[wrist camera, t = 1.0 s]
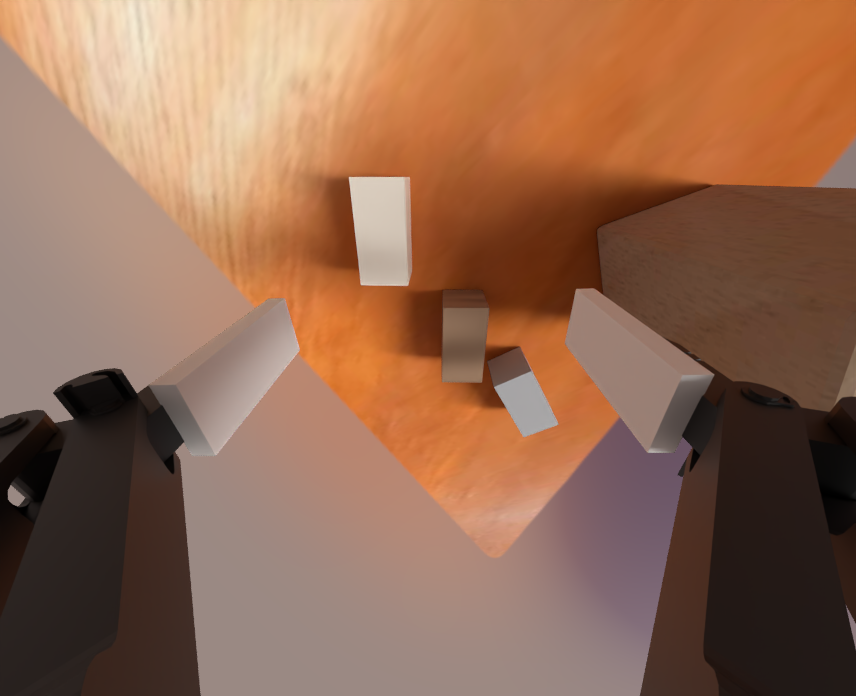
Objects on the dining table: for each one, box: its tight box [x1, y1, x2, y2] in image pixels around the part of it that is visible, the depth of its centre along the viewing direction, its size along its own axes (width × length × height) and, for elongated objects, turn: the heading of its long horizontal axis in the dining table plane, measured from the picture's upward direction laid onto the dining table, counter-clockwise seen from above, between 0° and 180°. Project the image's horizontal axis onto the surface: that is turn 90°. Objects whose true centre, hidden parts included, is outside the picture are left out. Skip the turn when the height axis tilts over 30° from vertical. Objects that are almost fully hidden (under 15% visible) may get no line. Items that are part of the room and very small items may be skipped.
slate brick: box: [487, 347, 559, 437], centre depth 34 cm, size 8×4×5 cm, turn 31°
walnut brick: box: [442, 290, 489, 383], centre depth 30 cm, size 8×4×5 cm, turn 0°
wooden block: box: [597, 185, 856, 412], centre depth 20 cm, size 10×10×20 cm
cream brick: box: [349, 177, 412, 286], centre depth 26 cm, size 8×4×5 cm, turn 0°
